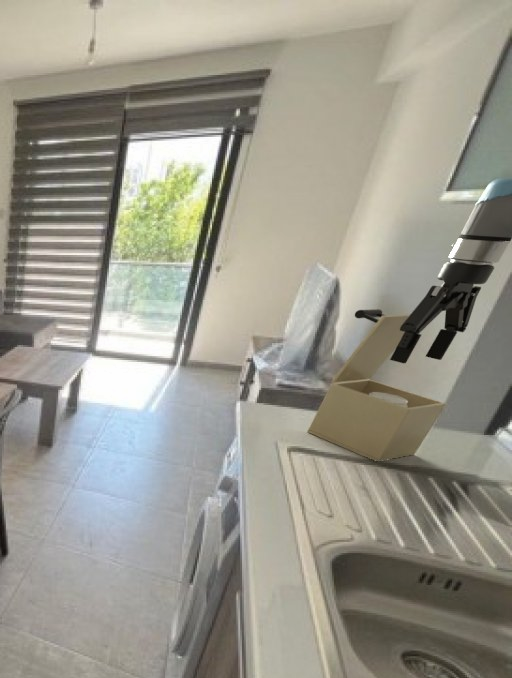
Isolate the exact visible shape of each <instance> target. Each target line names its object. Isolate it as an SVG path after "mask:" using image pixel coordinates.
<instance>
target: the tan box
mask: <svg viewBox="0 0 512 678" xmlns="http://www.w3.org/2000/svg"><path fill="white" fill-rule="evenodd" d="M372 392H381V393H388V394H392V395H396V396H399V397H402V398H404V399H406V400H407V401H408V403H407V405H408V408H406V407H403V406H400V405H397V404H394V403H391V402H388V401H385V400H382V399H379V398H376V397H373V396H370V395H369V393H372ZM447 404H448V403H445V402H442V401H439V400H437V399H433V398H431V397H427V396H423V395H420V394H418V393H415V392H410V391H408V390H404V389H402V388H397V387H394V386H392V385H388V384H385V383H383V382H379V381H375V380H372V379H370V378H368V379H359V380H350V381H341V382H332V383H331V384H330V386H329V388H328V390H327V392H326V394H325V395H324V398H323V401H322V402H321V403H320V405H319V408H318V410H317V412H316V414H315V416H314V418H313V420H312V421H311V423H310V425H309V427H308V429H307V433H308V434H312V435H314V436H316V437H317V438H321V439H323V440H324V441H328V442H329V443H332V444H334V445H337V446H338V447H341V448H343V449H346V450H348V451H351V452H353V453H355V454H357V455H358V456H359V455H360V456H362V457H364V456H365V457H364V458H366V457H368V458H367V459H369V458H371V459H373V460H376V461H381V462H383V461H382V460H386V461H388V460H387V459H391V460H393V459H392V458H396V459H399V458H398V457H401V458H404V457H403V456H406V457H410V456H409V455H411V456H415V454H416V453H417V451H418V450H419V448H420V447H421V445H422V443H423V442H424V440H425V439H426V437H427V436H428V434H429V433H430V431H431V429H432V428H433V427H434V425H435V423H436V421H438V419H439V417H440V415H442V413H443V411H444V410H445V408H446V406H447ZM371 459H370V460H371ZM373 460H372V461H373ZM376 461H375V462H376Z"/></svg>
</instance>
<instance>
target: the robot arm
mask: <svg viewBox="0 0 512 678" xmlns="http://www.w3.org/2000/svg"><path fill="white" fill-rule="evenodd" d="M511 241H512V177H504V178H497V179H494V180H492V181H490V182H489V183H488V185H487V186H486V187H485V189H484V190H483V192H482V194H481V196H480V197H479V199H478V200H477V202H476V203H475V204H474V207H473V209H472V211H471V213H470V215H469V217H468V219H467V221H466V223H465V224H464V227H463V228H462V230H461V232H460V235H459V236H458V238H457V240H456V242H455V243H453V244H452V245H451V248H452V249H451V251H450V253H449V255H448V256H447V258H448V259H449V261H446V262H444V263H443V265H442V267H441V268H440V271H439V272H438V274H437V276H436V278H437V280H439V281H442V282H443V283H442V284H441V285H431V286H430V288H429V290H428V291H427V293H426V294H425V296H424V297H423V298H422V300H421V301H420V302H419V304H418V305H417V306H416V307H415V308H414V309H413V310H412V312H411V313H410V316H409V317H408V318H407V319H406V321H405V322H404V323H403V324H402V326H401V327H400V331H404V332H405V333H404V334H403V336H402V338H401V340H400V342H399V344H398V346H397V347H396V349H395V350H394V351H393V352H392V354H391V356H390V358H389V360H390V361H393V362H397V363H401V364H407V362H408V360H409V358H410V357H411V355H412V353H413V351H414V349H415V348H416V345H417V344H418V342H419V341H420V339H421V337H422V334H421V333H422V331H423V330H425V328H427V327H428V326H429V325H430V324H431V323H432V322H433V321H434V320H435V319H436V318H437V317H438V316H439V315H440V314H441V313H442V312H444V311H445V318H444V327H443V328H440V329H439V332H438V334H437V335H436V336H435V339H434V340H433V342H432V344H431V345H430V347H429V349H428V351H427V352H426V354H425V357H426V358H430V359H433V360H437V361H441V360H442V359H443V357H444V356H445V354H446V352H447V351H448V350H449V348H450V346H451V344H452V342H453V341H454V339H455V337H456V336H457V334H458V332H459V333H464V332H465V331H466V330H467V327H468V326H469V323H470V319H471V316H472V313H473V309H474V306H475V303H476V300H477V297H478V295H479V294H480V292H481V289H482V286H477V285H484V284H485V283H487V281H488V280H489V278H490V276H492V273H493V272H494V269H495V266H494V265H493V264H496V263H499V262H500V261H501V259H502V257H503V255H504V253H505V252H506V250H507V248H508V246H509V245H510V242H511Z"/></svg>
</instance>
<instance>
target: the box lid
mask: <svg viewBox="0 0 512 678" xmlns="http://www.w3.org/2000/svg"><path fill="white" fill-rule="evenodd" d="M410 314H411V313H410ZM410 314H409V313H407V314H390V315H385V314H383V311H382V310H381V309H379V308H376V309H375V308H374V309H373V308H371V309H358V310H356V311H355V313H354V317H355V318H356V319H366V320H368V321H370V322H373V323H375V324H374V325H373V327H372V328H371V329H370V331H369V332H368V333H367V334H366V335H365V337H364V338H363V339H362V341H361V342H360V343H359V345H358V346H357V347H356V349H354V350H353V352H352V354H351V355H350V356H349V357H348V359H347V360H346V361H345V362H344V364H343V365H342V366H341V367H340V369H339V370H338V371H337V373H336V374H335V375H334V376H333V378H332V379H331V381H330V382H332V383H339V382H348V381H357V380H366V379H371V378H372V377H373V376H374V375H375V374H376V373H377V371H378V370H379V369H380V368H381V367H382V365H383V364H384V363H385V362H386V360H388V358H390V357H391V356H392V354H393V353H394V351H395V349H396V347H397V346H398V344H399V342H400V340H401V338H402V336H403V334H404V333H405V332H404V331H400V327H401V326H402V324H403V323H404V322H405V321H406V319H407V318H408V317H409V316H410ZM378 318H379V319H378Z"/></svg>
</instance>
